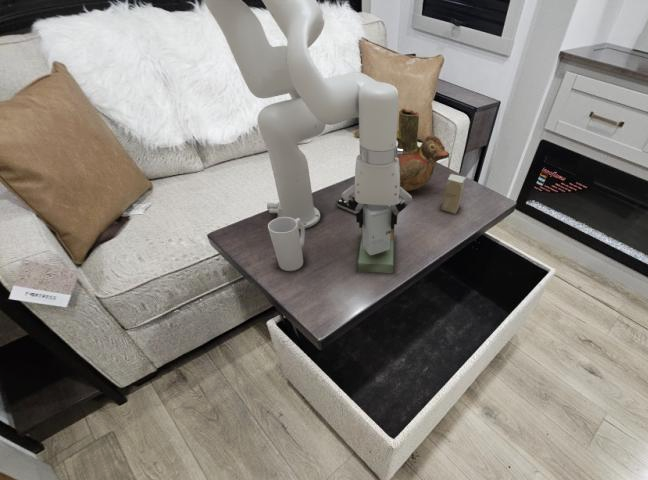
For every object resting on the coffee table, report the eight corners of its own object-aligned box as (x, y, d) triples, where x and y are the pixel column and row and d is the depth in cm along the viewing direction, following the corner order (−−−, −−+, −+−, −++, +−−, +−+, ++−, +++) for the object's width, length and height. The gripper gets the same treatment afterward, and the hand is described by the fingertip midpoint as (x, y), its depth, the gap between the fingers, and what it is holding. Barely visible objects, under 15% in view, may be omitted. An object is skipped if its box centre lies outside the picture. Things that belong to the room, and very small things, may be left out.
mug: (292, 275, 85) (283, 236, 76) (272, 266, 87) (261, 227, 78) (317, 254, 91) (312, 216, 83) (298, 246, 93) (290, 208, 85)
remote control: (366, 219, 105) (366, 214, 103) (335, 206, 109) (334, 200, 107) (378, 211, 108) (378, 206, 107) (347, 198, 113) (347, 193, 111)
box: (441, 210, 111) (446, 178, 103) (444, 204, 114) (450, 172, 106) (456, 214, 110) (462, 182, 102) (459, 208, 113) (466, 176, 105)
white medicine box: (370, 256, 85) (370, 215, 77) (361, 247, 88) (361, 205, 79) (390, 249, 88) (393, 208, 79) (381, 240, 90) (383, 199, 82)
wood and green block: (358, 271, 88) (357, 240, 80) (362, 235, 99) (362, 205, 92) (392, 273, 88) (394, 242, 81) (393, 237, 99) (395, 207, 92)
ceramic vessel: (439, 205, 113) (452, 127, 95) (365, 192, 116) (365, 114, 98) (446, 182, 125) (458, 109, 107) (379, 171, 128) (380, 97, 110)
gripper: (418, 148, 73) (411, 218, 86) (338, 143, 72) (343, 215, 85) (420, 163, 68) (412, 236, 81) (333, 158, 67) (339, 232, 80)
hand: (376, 224), depth 83 cm, fingers closed on white medicine box, 7 cm apart
